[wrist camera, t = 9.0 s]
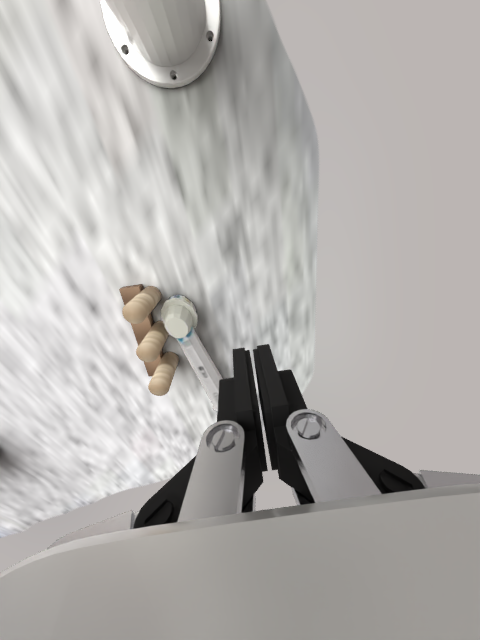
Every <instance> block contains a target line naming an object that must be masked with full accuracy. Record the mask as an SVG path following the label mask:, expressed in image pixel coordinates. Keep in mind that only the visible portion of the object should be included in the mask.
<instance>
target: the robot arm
mask: <svg viewBox="0 0 480 640" xmlns="http://www.w3.org/2000/svg"><path fill="white" fill-rule="evenodd" d="M100 3H101V9H102V14H103V19H104V22H105V25H106V28H107V31H108V34H109V36H110V38H111V40H112V42H113V44H114V46H115V48H116V50H117V51H118V53H119V54H120V56H121V57H122V59H123V60H124V61H125V63H126V64H127V65H128V66H129V68H130V69H131V70H132V71H134V72H135V73H136V74H137V75H138V76H139V77H141V78H142V79H144V80H145V81H147V82H148V83H151V84H153V85H156V86H158V87H164V88H177V87H181V86H184V85H187V84H189V83H191V82H192V81H194V80H195V79H197V78H198V77H199V76H200V75H201V74H202V73H203V72H204V71H205V69H206V68H207V66H208V65H209V63H210V62H211V60H212V57H213V55H214V53H215V50H216V47H217V43H218V39H219V34H220V22H221V18H220V1H219V0H100ZM209 39H212V40H213V41H211V42H210V41H208V40H209ZM127 52H129V53H128V54H127V55H126V53H127ZM173 77H177V79H176V80H173ZM253 353H254V361H255V368H256V375H257V383H258V390H259V398H260V404H261V410H262V415H263V421H264V427H265V432H266V438H267V444H268V449H269V454H270V461H271V466H272V470H277V469H278V474H279V479H281V480H282V481H284V482H285V483H286V484H288V485H289V486H291V488H292V492H293V495H294V498H295V501H296V504H297V506H290V507H283V508H275V509H269V510H261V511H255V503H256V502H255V501H256V498H255V492H256V491H257V489H258V488H259V487H260V485H261V484H262V483H263V476H262V472H263V471H267V463H266V456H265V449H264V442H263V434H262V427H261V420H260V413H259V406H258V400H257V394H256V388H255V381H254V375H253V369H252V363H251V357H250V351H249V350H247V351H245V348H239V349H233V366H234V378H228V379H221V380H219V395H218V414H217V423H214V424H213V425H211V426H210V427H208V428H207V430H206V431H205V432H204V434H203V436H202V439H201V442H200V445H199V449H198V452H197V455H196V456H195V457H194V458H193V459H192V460H191V461H190V462H189V463H188V464H187V465H186V466H185V467H183V468H182V469H181V470H180V471H179V472H178V473H177V474H176V475H175V476H174V477H173V478H172V479H171V480H170V481H168V482H167V483H166V484H165V485H164V486H163V487H162V488H161V489H160V490H159V491H158V492H157V493H156V494H155V495H153V496H152V497H151V498H150V499H149V500H148V501H147V502H146V503H145V505H144V506H143V507H142V508H141V510H140V511H138V512H135V513H133V511H132V510H130V511H127V512H124V513H122V514H119V515H117V516H114V517H111V518H109V519H106V520H103V521H101V522H98V523H96V524H93V525H90V526H88V527H85V528H82V529H80V530H77V531H74V532H72V533H69V534H67V535H65V536H63V537H61V538H60V539H58V540H56V541H55V542H54V543H53V544H52V545H51V546H50V547H48V548H47V550H44V551H42V552H39V553H37V554H35V555H32V556H30V557H28V558H26V559H24V560H22V561H20V562H19V563H17V564H15V565H13V566H11V567H9V568H7V569H5V570H4V571H2V572H1V573H0V640H480V475H475V474H474V475H473V474H463V473H450V472H437V471H426V470H420V471H419V474H416V473H412V472H411V471H410V470H408V469H406V468H405V467H403V466H401V465H399V464H397V463H395V462H393V461H391V460H388V459H387V458H384V457H383V456H380V455H378V454H376V453H374V452H372V451H370V450H368V449H366V448H364V447H362V446H359V445H357V444H356V443H353V442H351V441H349V440H347V439H345V438H343V437H341V436H340V435H339V433H338V432H337V431H336V429H335V428H334V426H333V425H332V424H331V422H330V421H329V419H328V418H327V417H326V416H325V415H323V414H322V413H320V412H318V411H315V410H310V409H307V407H306V404H305V402H304V399H303V397H302V395H301V392H300V390H299V387H298V385H297V383H296V380H295V378H294V375H293V373H292V371H291V370H284V371H277V368H276V365H275V362H274V359H273V355H272V352H271V349H270V346H269V344H267V345H260V346H257V349H254V350H253Z"/></svg>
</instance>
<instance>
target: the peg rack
mask: <svg viewBox="0 0 480 640" xmlns="http://www.w3.org/2000/svg"><path fill="white" fill-rule="evenodd" d="M119 290H120V293H121V296H122V299H123V302H124V305H125V306H124V307H123V316H124V318H125V319H126V320H127V321H128V322H130V323H131V325H132V328H133V331H134V334H135V337H136V340H137V343H138V348H137V350H136V353H137V356H138V357H139V359H141V360H142V361H144V364H145V367H146V369H147V372H148V375H149V376H153V377H152V379H151V381H150V383H149V386H148V387H149V390H150V392H151V393H152V394H154V395H157V396H162V395H165V394H166V393H167V392H168V391H169V388H170V385H171V382H172V379H173V376H174V373H175V370H176V367H177V364H178V361H179V358H178V356H177V355H176V354H175V353H173V352H166V353H164V354H163V352H162V347H163V345H164V343H165V341H166V339H167V337H168V335H169V333H168V332H167V330H166V328H165V324H164V323H163V321H157V322H155V323H154V322H153V319H152V316H151V311H152V310H153V309H154V308H155V306H156V305H157V304H158V303H159V301H160V300H161V292H160V291H159V290H158V289H157V288H156V287H153V286H148V287H146V288H144V289H143V286H142V284H139V285H133V286H126V287H122V288H121V289H119Z"/></svg>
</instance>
